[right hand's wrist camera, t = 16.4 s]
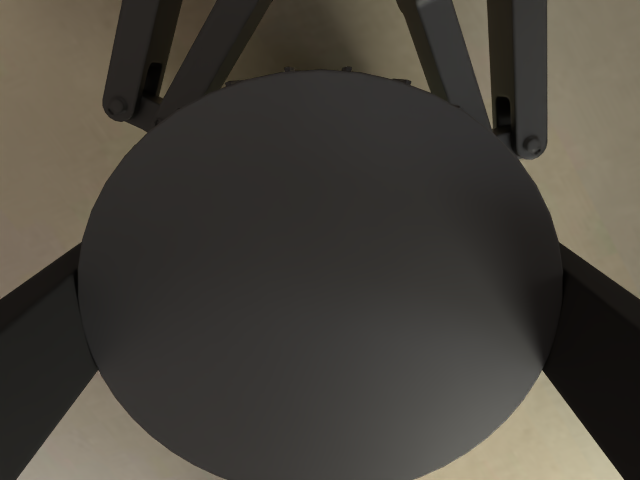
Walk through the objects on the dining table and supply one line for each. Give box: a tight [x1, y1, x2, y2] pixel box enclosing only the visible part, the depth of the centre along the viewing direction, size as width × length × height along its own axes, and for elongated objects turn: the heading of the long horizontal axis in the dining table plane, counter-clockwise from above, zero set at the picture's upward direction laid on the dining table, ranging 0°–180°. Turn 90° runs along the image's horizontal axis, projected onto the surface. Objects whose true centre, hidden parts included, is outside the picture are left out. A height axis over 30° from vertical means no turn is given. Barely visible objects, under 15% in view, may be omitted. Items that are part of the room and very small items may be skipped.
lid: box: [78, 67, 563, 480], centre depth 11 cm, size 11×11×2 cm
